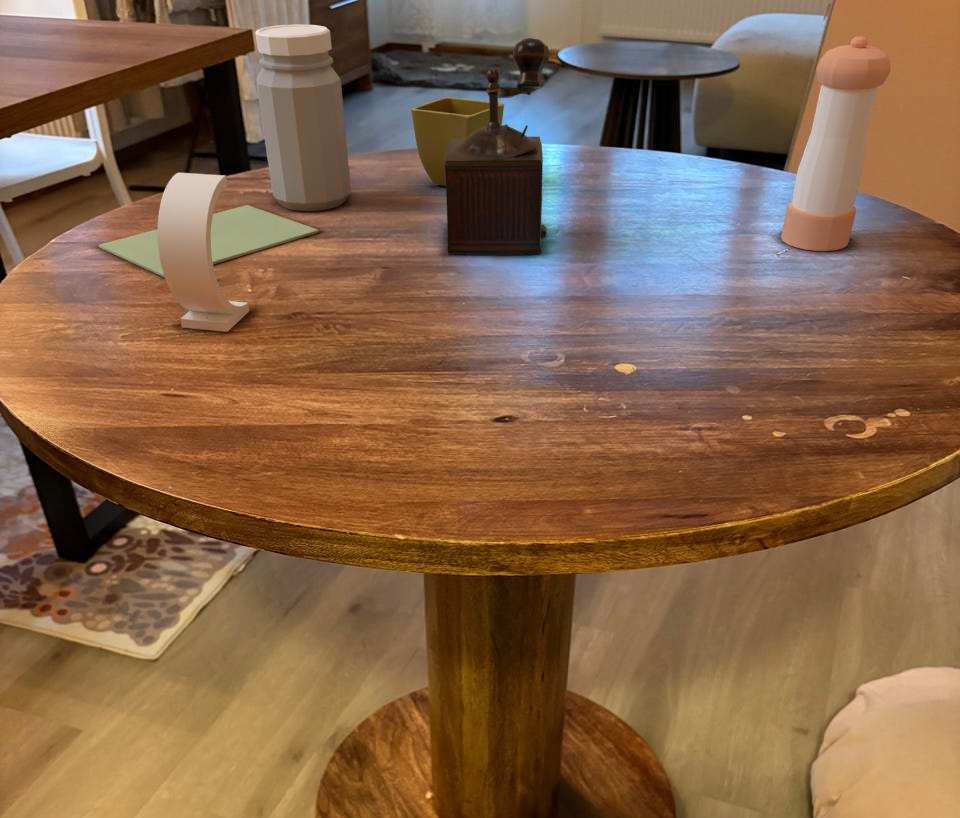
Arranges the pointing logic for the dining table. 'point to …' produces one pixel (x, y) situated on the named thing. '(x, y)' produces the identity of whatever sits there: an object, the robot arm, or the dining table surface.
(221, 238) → the placemat
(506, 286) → the dining table surface
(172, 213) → the headphone stand
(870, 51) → the salt shaker
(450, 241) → the brown manual coffee grinder
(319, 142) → the jar
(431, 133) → the flower pot
